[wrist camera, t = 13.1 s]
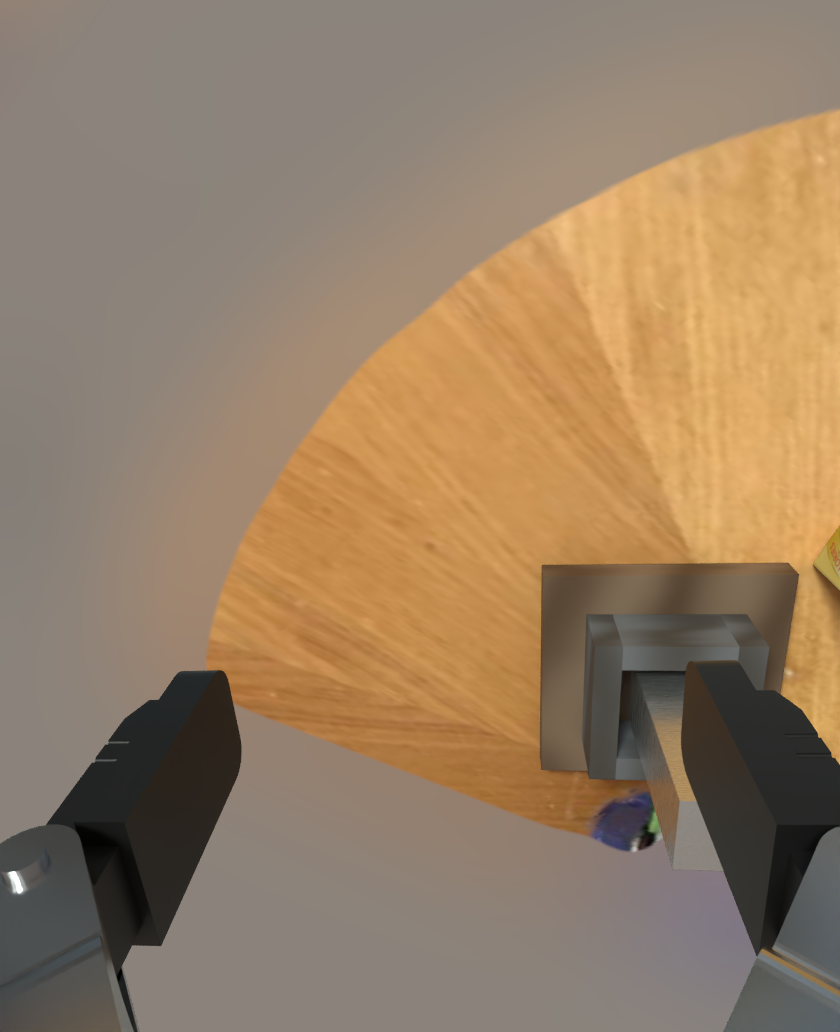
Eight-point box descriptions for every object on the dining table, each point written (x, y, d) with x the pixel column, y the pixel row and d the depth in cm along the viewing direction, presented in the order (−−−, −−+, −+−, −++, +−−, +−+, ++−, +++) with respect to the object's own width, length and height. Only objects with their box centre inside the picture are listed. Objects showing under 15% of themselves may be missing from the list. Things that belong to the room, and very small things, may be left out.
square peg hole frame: (788, 562, 40) (827, 604, 36) (758, 758, 45) (789, 817, 41) (541, 565, 42) (548, 605, 37) (539, 754, 47) (545, 811, 42)
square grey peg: (698, 651, 41) (775, 803, 30) (692, 707, 43) (764, 872, 31) (628, 650, 42) (679, 800, 30) (625, 706, 43) (672, 869, 32)
